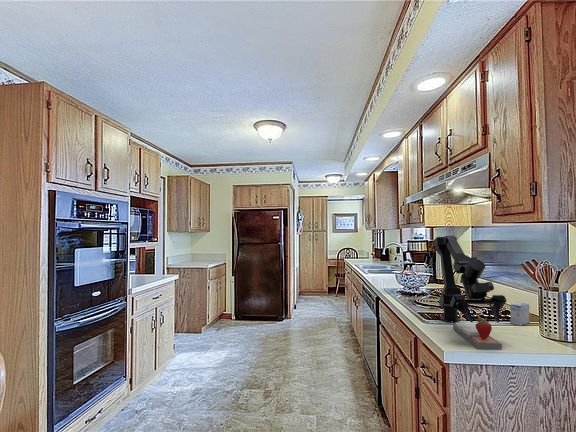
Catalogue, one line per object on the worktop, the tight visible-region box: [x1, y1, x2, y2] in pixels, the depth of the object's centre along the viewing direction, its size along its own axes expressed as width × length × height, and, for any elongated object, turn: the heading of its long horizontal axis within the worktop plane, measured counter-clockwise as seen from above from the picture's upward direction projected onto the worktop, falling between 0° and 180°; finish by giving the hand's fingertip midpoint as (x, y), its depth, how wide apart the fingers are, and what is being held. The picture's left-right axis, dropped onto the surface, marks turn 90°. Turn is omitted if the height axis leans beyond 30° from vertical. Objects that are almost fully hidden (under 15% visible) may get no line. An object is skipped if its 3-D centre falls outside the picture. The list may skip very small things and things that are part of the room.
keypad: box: [452, 321, 503, 350], centre depth 138 cm, size 22×8×3 cm, turn 175°
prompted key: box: [471, 336, 497, 343], centre depth 131 cm, size 6×6×2 cm
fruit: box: [475, 317, 493, 339], centre depth 131 cm, size 5×5×8 cm
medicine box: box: [509, 301, 530, 326], centre depth 158 cm, size 8×4×9 cm, turn 123°
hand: (485, 321), depth 130 cm, fingers open, 9 cm apart
